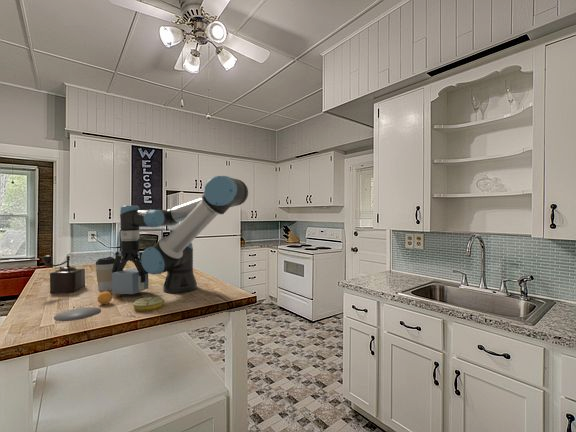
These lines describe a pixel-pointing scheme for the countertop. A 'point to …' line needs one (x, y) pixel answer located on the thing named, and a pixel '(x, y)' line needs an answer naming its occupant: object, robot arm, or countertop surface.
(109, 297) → the ball
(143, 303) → the decorated donut
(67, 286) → the brown coffee grinder
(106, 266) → the coffee cup
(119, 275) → the grey rectangular block
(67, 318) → the disc
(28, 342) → the countertop surface
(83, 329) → the countertop surface
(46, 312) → the countertop surface
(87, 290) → the countertop surface
